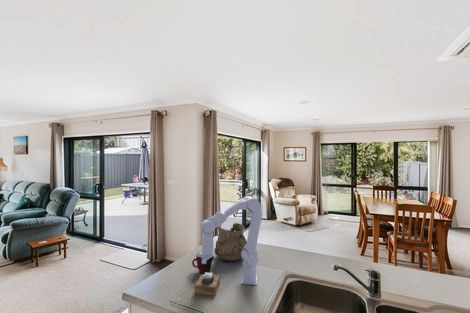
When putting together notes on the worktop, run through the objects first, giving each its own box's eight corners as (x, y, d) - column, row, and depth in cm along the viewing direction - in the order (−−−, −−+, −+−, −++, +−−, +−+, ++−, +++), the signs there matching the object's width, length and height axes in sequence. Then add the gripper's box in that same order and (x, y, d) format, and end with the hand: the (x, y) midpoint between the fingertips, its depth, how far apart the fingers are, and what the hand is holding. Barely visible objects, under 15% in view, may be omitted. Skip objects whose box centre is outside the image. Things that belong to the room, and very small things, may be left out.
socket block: (201, 282, 122) (201, 274, 122) (219, 283, 120) (219, 275, 120) (194, 294, 111) (194, 285, 111) (215, 295, 109) (215, 287, 110)
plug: (205, 286, 118) (205, 272, 118) (212, 286, 117) (212, 272, 117) (203, 290, 114) (203, 276, 114) (211, 291, 113) (211, 276, 113)
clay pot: (237, 269, 136) (237, 232, 136) (205, 260, 148) (205, 226, 148) (255, 254, 157) (255, 222, 158) (226, 247, 169) (226, 218, 169)
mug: (191, 275, 128) (190, 257, 128) (193, 269, 136) (192, 251, 137) (210, 275, 129) (210, 257, 129) (211, 268, 137) (210, 251, 137)
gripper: (203, 239, 124) (204, 265, 123) (195, 249, 109) (195, 278, 109) (216, 239, 123) (217, 265, 122) (210, 250, 108) (210, 279, 108)
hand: (207, 272), depth 116 cm, fingers closed
